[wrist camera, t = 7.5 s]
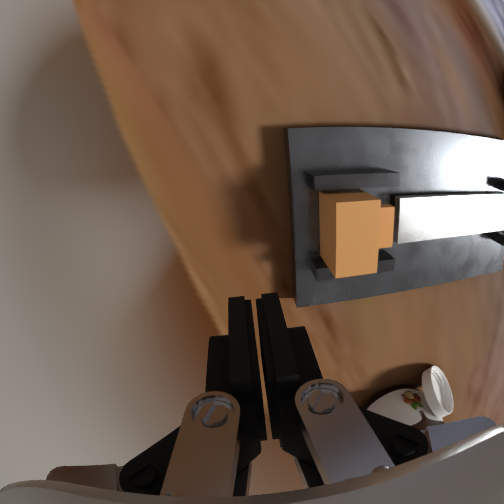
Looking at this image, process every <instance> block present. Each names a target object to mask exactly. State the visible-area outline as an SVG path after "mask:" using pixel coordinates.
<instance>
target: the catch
mask: <svg viewBox="0 0 504 504" xmlns="http://www.w3.org/2000/svg"><path fill="white" fill-rule="evenodd" d="M394 211H395V207H394V206H392V205H390V204H381V200H380V199H378V198H376V197H374V196H373V195H371V194H369V193H367V192H365V191H363V190H361V189H359V188H358V189H340V190H324V191H319V222H320V256H321V257H322V259H323V260H324V262H325V263H326V265H327V266H328V268H329V269H330V271H331V272H332V274H333V275H334V277H335V278H343V277H350V276H358V275H365V274H372V273H377V265H378V252H379V248H388V247H392V244H393V230H394Z"/></svg>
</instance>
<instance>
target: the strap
mask: <svg viewBox="0 0 504 504" xmlns="http://www.w3.org/2000/svg"><path fill="white" fill-rule="evenodd" d="M501 230H504V193H459V194H429V195H406V196H395V213H394V231H393V241H394V242H396V243H397V244H401V243H409V242H416V241H424V240H432V239H440V238H448V237H455V236H463V235H471V234H478V233H486V232H493V231H501Z"/></svg>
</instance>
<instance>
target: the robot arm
mask: <svg viewBox="0 0 504 504" xmlns="http://www.w3.org/2000/svg"><path fill="white" fill-rule="evenodd" d="M256 307H257V317H258V327H259V338H260V348H261V358H262V366H263V374H264V381H265V388H266V395H267V402H268V410H269V417H270V424H271V431H272V438H273V439H279V441H280V447H282V449H283V450H284V451H286V452H288V453H289V454H291V455H293V456H294V460H295V463H296V466H297V468H298V471H299V473H300V476H301V478H302V481H303V483H304V486H305V488H306V489H301V490H295V491H288V492H280V493H272V494H262V495H252V496H248V494H249V486H250V476H251V467H252V464H251V461H252V460H253V459H255V458H256V457H257V456H258V455H259V454H260V453H261V442H260V441H264V440H267V434H266V425H265V416H264V407H263V397H262V388H261V379H260V371H259V363H258V355H257V347H256V338H255V330H254V322H253V314H252V305H251V300H245V299H244V296H240V297H230V298H228V334H229V335H223V336H211V337H210V338H209V348H208V361H207V375H206V391H205V393H202V394H200V395H198V396H196V397H195V398H193V399H192V400H191V401H190V402H189V404H188V405H187V407H186V410H185V413H184V416H183V419H182V423H181V426H179V427H178V428H177V429H175V430H174V431H173V432H171V433H170V434H168V435H167V436H166V437H164V438H163V439H161V440H160V441H158V442H157V443H155V444H154V445H153V446H151V447H150V448H148V449H147V450H145V451H144V452H142V453H141V454H139V455H138V456H136V457H135V458H133V459H132V460H130V461H129V462H128V463H127V464H125V465H124V466H120V467H118V466H117V465H116V464H108V465H92V466H61V467H56V468H55V469H53V470H52V471H50V473H49V474H48V476H47V478H46V480H29V481H21V482H16V483H12V484H9V485H7V486H5V487H3V488H2V489H1V490H0V504H504V423H502V424H499V425H496V424H495V422H494V421H492V420H491V419H490V418H487V417H484V416H482V417H474V418H469V419H465V420H460V421H455V422H450V423H445V424H439V425H433V426H427V428H426V429H425V430H419V429H417V428H415V427H413V426H410V425H407V424H404V423H401V422H398V421H396V420H393V419H390V418H388V417H385V416H382V415H380V414H377V413H374V412H372V411H369V410H367V409H364V408H362V407H359V406H357V404H356V403H355V401H354V400H353V398H352V397H351V395H350V393H349V392H348V390H347V389H346V388H345V387H344V386H343V385H342V384H340V383H339V382H337V381H334V380H330V379H323V377H322V374H321V371H320V369H319V366H318V363H317V360H316V357H315V354H314V351H313V348H312V345H311V343H310V340H309V337H308V334H307V331H306V329H305V327H304V326H301V327H294V328H287V326H286V322H285V319H284V315H283V311H282V308H281V304H280V300H279V297H278V293H277V292H276V293H267V294H262V298H260V299H256Z"/></svg>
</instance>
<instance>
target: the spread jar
mask: <svg viewBox="0 0 504 504" xmlns="http://www.w3.org/2000/svg"><path fill="white" fill-rule="evenodd" d="M422 387H423V392H424V393H423V392H422V391H420V390H418V389H416V388H413V387H410V386H405V385H400V386H394V387H391V388H388V389H386V390H384V391H382V392H381V393H379V394H378V395H376V396H375V397H374V398H373V399H372V400H371V401H370V402H369V403H368V404H367V405H366V407H365V408H364V409H367V410H369V411H372V412H374V413H377V414H380V415H382V416H385V417H388V418H390V419H393V420H396V421H398V422H401V423H404V424H407V425H410V426H413V427H415V428H417V429H419V430H425V429H426V428H427V426H433V425H439V424H444V421H443V419H442V417H444V416H446V415H448V414H450V413H452V411H453V407H454V402H453V395H452V391H451V388H450V385H449V383H448V381H447V379H446V377H445V375H444V373H443V372H442V371H441V369H440V368H439V367H437V366H432V367H430V368H428V369H426V370H425V371H424V372H423V374H422Z"/></svg>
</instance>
